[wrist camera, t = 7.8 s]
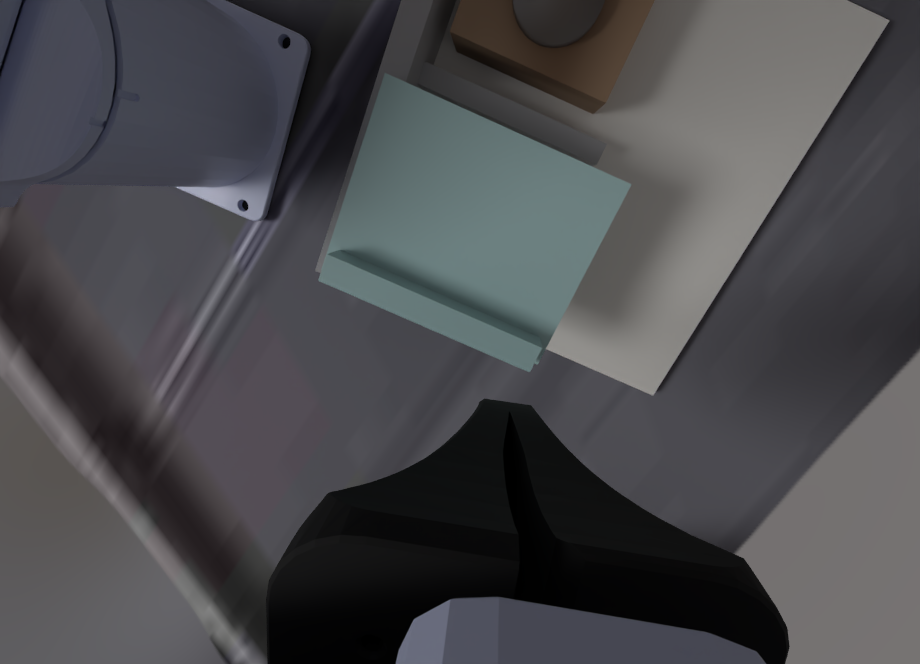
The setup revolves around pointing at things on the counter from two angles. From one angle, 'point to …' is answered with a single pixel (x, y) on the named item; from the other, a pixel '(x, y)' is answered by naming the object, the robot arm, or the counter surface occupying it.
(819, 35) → the housing
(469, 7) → the block
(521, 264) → the cover
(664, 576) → the robot arm
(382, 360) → the counter surface
